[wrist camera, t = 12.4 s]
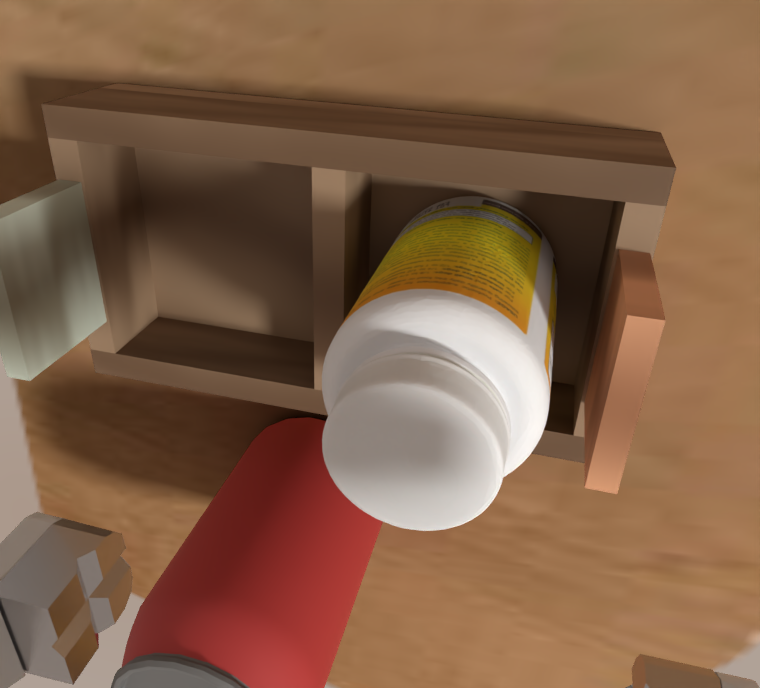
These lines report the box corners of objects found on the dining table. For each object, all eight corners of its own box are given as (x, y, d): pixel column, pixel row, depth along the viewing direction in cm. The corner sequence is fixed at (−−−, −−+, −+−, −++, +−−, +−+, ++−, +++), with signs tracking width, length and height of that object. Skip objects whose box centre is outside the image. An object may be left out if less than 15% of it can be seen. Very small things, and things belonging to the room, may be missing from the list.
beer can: (224, 448, 31) (55, 683, 21) (325, 384, 28) (181, 625, 18) (318, 545, 33) (201, 807, 23) (424, 495, 30) (342, 773, 20)
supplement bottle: (365, 227, 23) (238, 389, 15) (521, 162, 21) (479, 310, 12) (433, 362, 25) (356, 576, 17) (583, 317, 23) (583, 537, 14)
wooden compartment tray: (116, 83, 24) (-65, 133, 17) (660, 132, 20) (698, 220, 14) (152, 323, 29) (21, 435, 22) (597, 397, 25) (602, 559, 19)
